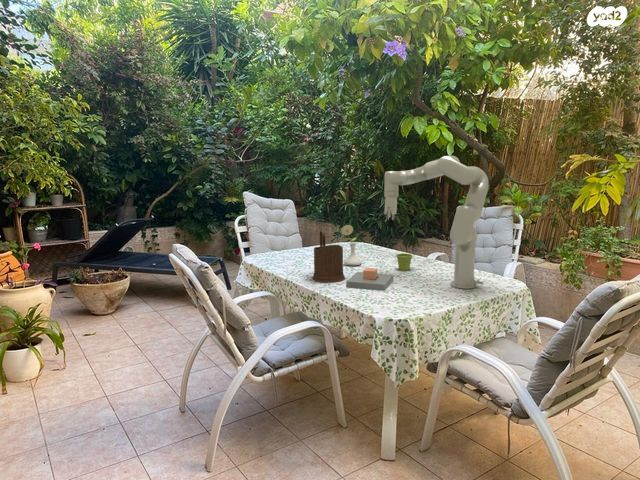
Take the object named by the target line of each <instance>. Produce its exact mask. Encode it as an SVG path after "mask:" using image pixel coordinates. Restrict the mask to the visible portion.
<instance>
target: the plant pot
mask: <svg viewBox="0 0 640 480" xmlns="http://www.w3.org/2000/svg"><path fill="white" fill-rule="evenodd" d="M412 257H413V254H411V253H397V254H396V259H397V264H398V270H399V271H403V272H404V271H409V270H410V268H411V267H410V266H411V262H412Z"/></svg>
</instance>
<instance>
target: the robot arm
mask: <svg viewBox="0 0 640 480" xmlns="http://www.w3.org/2000/svg"><path fill="white" fill-rule="evenodd" d="M459 159H460V158H458V157H457V156H455V155H444V156H441V157H440V158H438V159H435V160H431V161H429V162H426V163H425V164H424V165H422V166H420V167H416V168H414V169H409V170H399V171H395V170H390V171H389V170H388V171H385V172H384V196H383V197H384V200H385V201H384V211H383V212H384V216H387V227H388V228H394V227H395V214H397V212H398V211H397V210H398V209H397V206H398V205H397V204H398V203H397V202H398V201H397V198H399V186H409V185H412V184H415V183H419V182H424V181H427V180H433V179H435V178H438V177H443V176H446V177H448V178H450V179H451V180H453V181H455V182H457V183H458V184H461V185H464V186H468V185H469V186H470V187H469V190H468V193H467V195H466V199H465V201H464V202H465V203H464V204H463V205H461V206H459V208H458V209H457V210H456V212H455V215H454V218H453V220H452V221H453V222H452V226H451V229H450V232H449V238H450V241H451V243H452V244H453V245H455V249H454V271H453V273H454V274H453V280H452V281H450V286H451V287H454V288H456V289H465V290H467V289H469V290H471V289H475V288H477V284H478V285H483V284H484V280H483V279H480V278H479V279H477V278H475V277H476V276H475V258H476V257H475V256H476V246H477V245H476V244H477V238H478V231H477V229H476V227H475V226H474V224H475V222H476V223H477V222H478V221H479V220H480V218H481V215H482V212H483V208H484V206H485V202H486V198H487V194H488V191H489V190H488V189H489V177H488V176H487V174H486V173H485V171H484V170H482V169H481V168H480V167H478V166H474V165H473V166H471V165H470V166H467V165H465V164H463V163H461V161H460V160H459Z"/></svg>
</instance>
